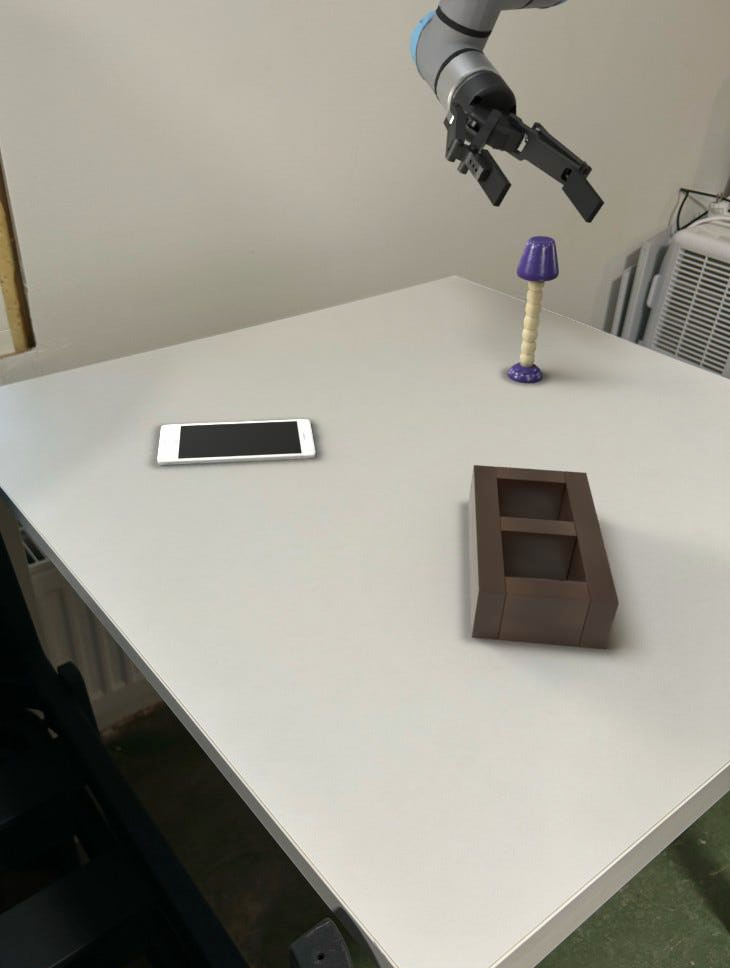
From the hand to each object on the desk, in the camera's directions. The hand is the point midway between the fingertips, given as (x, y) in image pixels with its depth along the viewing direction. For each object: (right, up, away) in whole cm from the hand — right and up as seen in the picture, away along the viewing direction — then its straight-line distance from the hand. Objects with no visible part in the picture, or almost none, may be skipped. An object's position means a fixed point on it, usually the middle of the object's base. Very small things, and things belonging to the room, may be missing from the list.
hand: (550, 204), depth 92 cm
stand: (-8, -41, -23) cm, 47 cm away
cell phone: (-35, -28, -5) cm, 45 cm away
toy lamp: (-1, -18, +9) cm, 20 cm away
